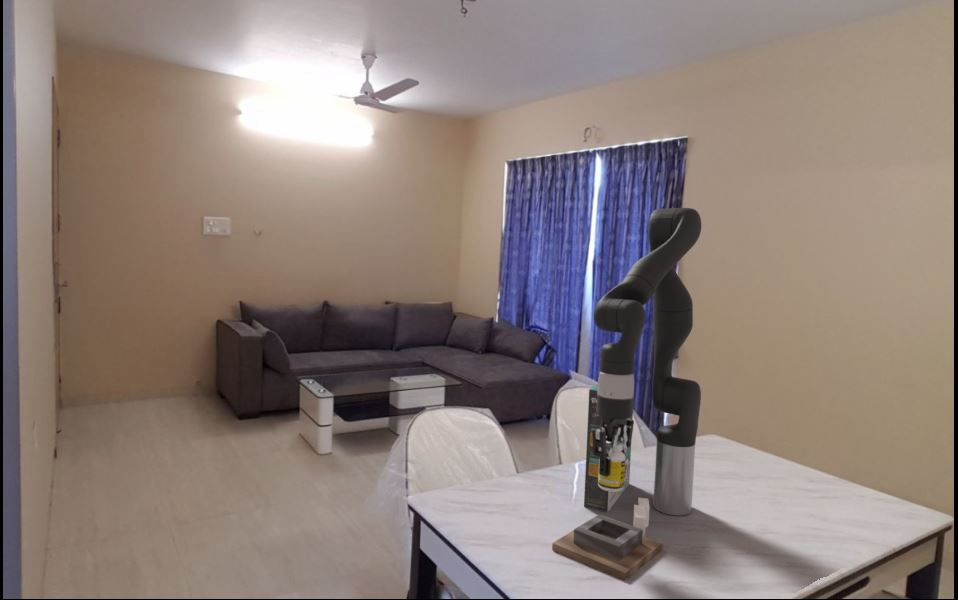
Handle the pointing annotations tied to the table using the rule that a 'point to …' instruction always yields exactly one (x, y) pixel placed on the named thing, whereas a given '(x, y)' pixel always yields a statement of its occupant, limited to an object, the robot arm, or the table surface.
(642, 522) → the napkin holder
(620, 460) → the supplement bottle
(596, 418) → the cake mix box
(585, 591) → the table surface
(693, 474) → the robot arm
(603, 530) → the wooden board with frame
